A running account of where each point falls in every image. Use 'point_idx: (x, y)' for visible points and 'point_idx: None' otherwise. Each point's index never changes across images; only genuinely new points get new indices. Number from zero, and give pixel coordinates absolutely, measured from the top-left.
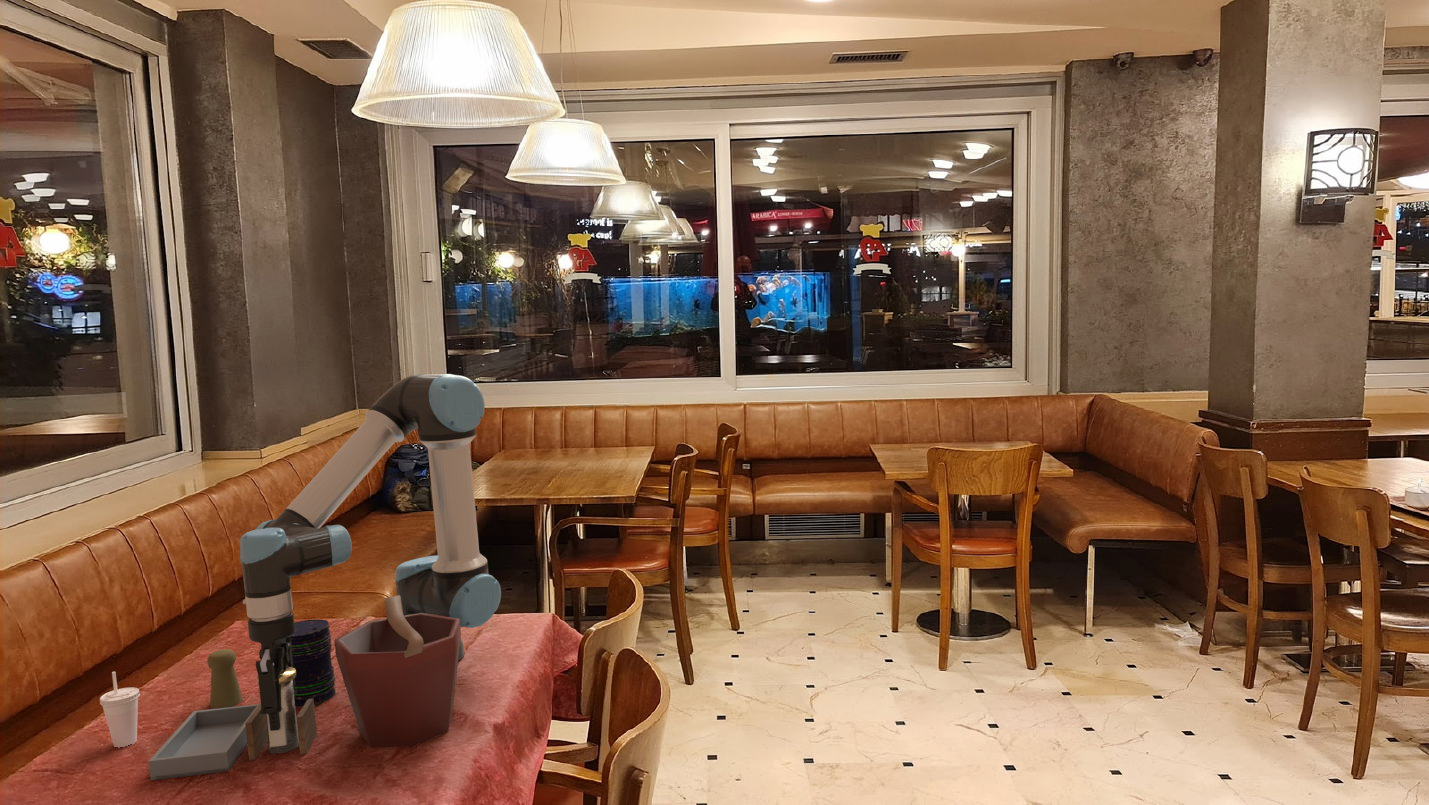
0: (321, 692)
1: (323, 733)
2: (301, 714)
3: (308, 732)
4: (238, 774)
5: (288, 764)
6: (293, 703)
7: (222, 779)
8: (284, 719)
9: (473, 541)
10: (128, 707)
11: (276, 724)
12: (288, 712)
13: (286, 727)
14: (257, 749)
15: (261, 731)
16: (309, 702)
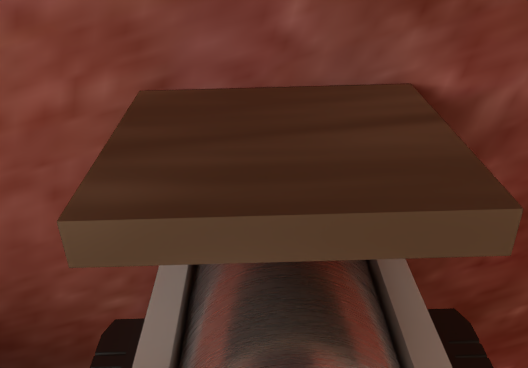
0: None
1: (129, 53)
2: (460, 228)
3: (330, 121)
4: (504, 324)
5: (507, 144)
6: (317, 365)
7: (521, 363)
8: (405, 327)
9: None
10: None
11: (479, 352)
12: (373, 341)
13: (366, 275)
14: None
15: None
16: (158, 233)
